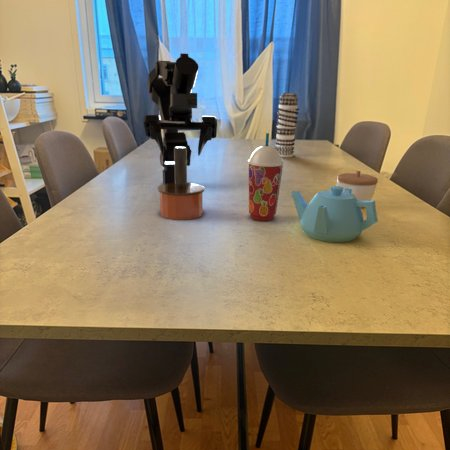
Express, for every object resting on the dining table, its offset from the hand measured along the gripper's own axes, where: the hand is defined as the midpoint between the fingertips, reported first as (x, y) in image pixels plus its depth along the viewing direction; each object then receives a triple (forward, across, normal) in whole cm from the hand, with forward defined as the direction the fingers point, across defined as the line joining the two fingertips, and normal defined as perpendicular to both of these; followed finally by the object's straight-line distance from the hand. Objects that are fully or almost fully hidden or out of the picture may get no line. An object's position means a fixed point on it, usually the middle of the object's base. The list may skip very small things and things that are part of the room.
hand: (180, 154), depth 110 cm
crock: (+14, 0, +4) cm, 15 cm away
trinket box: (+8, +48, +11) cm, 50 cm away
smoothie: (+17, +20, +2) cm, 27 cm away
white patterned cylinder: (-48, +43, +68) cm, 94 cm away
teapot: (+25, +34, -6) cm, 43 cm away
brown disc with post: (+10, 0, 0) cm, 10 cm away
